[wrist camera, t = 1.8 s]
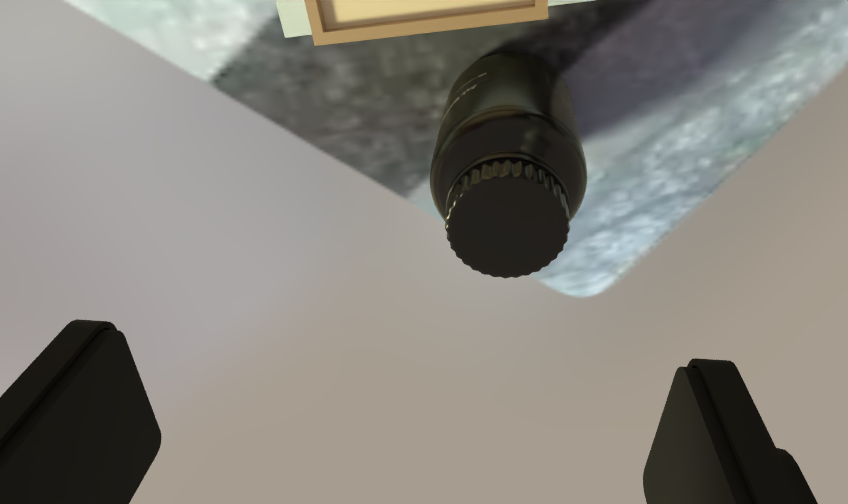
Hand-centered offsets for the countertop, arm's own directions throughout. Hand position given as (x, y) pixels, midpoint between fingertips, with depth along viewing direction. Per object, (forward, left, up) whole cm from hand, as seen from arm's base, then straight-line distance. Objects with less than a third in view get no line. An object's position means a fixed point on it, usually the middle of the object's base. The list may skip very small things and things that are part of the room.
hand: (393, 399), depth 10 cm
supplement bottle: (-2, +4, -25) cm, 25 cm away
